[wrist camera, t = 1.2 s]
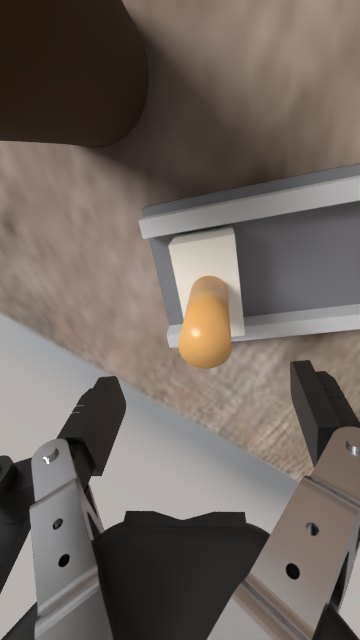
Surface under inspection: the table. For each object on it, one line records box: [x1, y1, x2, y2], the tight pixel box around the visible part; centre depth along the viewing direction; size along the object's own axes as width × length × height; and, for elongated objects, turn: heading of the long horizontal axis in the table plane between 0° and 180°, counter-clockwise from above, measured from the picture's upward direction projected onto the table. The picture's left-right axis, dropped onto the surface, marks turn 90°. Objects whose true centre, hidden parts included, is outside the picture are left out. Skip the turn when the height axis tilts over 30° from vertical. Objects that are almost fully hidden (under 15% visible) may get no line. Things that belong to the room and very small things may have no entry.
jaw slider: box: [168, 225, 245, 369], centre depth 21 cm, size 5×9×12 cm, turn 11°
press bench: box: [138, 163, 360, 348], centre depth 23 cm, size 26×14×8 cm, turn 101°
